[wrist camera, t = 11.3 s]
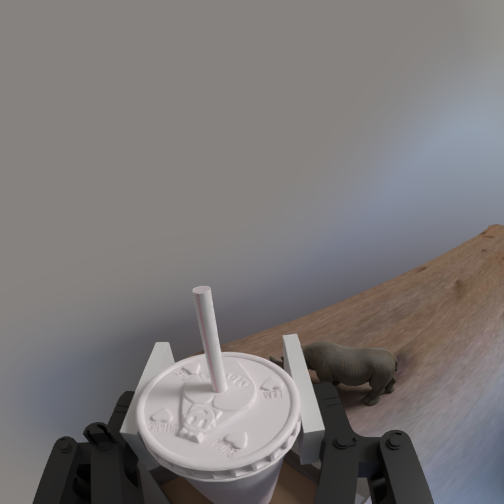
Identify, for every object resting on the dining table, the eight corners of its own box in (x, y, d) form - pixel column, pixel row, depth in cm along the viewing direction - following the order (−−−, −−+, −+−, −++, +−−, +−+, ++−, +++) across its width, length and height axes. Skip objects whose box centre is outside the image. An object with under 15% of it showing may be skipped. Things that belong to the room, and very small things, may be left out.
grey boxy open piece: (259, 431, 21) (254, 393, 20) (363, 504, 12) (383, 477, 11) (144, 491, 15) (116, 460, 13) (232, 598, 5) (217, 601, 4)
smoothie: (305, 464, 14) (318, 263, 10) (277, 544, 8) (268, 402, 4) (215, 445, 16) (167, 257, 12) (173, 512, 10) (48, 329, 6)
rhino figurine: (278, 365, 31) (276, 323, 29) (394, 382, 25) (406, 339, 23) (264, 387, 27) (260, 344, 26) (391, 409, 21) (406, 365, 20)
